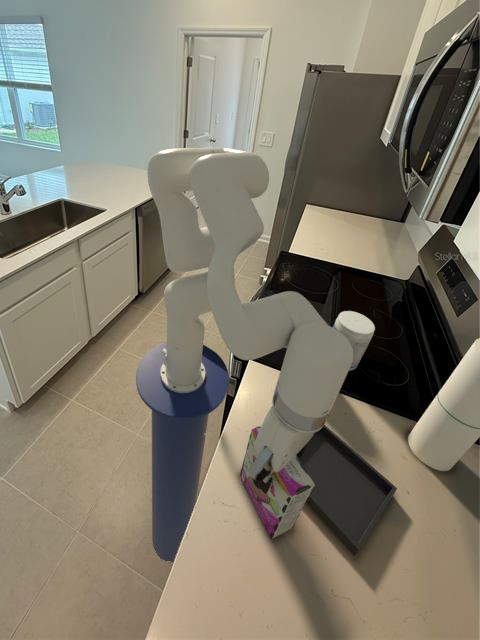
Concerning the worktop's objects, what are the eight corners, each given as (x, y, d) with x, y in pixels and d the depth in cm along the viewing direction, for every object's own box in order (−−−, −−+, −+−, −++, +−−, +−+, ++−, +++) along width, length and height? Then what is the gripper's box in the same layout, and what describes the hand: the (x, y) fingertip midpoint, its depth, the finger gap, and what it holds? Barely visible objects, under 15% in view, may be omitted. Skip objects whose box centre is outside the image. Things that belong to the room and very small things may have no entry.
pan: (274, 467, 64) (276, 460, 62) (315, 425, 72) (318, 419, 71) (354, 556, 52) (359, 550, 51) (392, 494, 61) (397, 488, 59)
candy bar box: (237, 475, 62) (250, 427, 54) (258, 466, 64) (273, 418, 56) (270, 543, 53) (290, 497, 45) (293, 529, 55) (317, 483, 47)
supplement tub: (316, 350, 93) (329, 312, 86) (340, 344, 96) (356, 307, 89) (339, 376, 85) (356, 337, 78) (365, 368, 88) (384, 330, 81)
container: (447, 441, 71) (524, 347, 56) (458, 478, 64) (549, 383, 49) (405, 425, 74) (468, 332, 59) (411, 459, 67) (484, 363, 52)
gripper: (312, 357, 51) (289, 420, 60) (239, 414, 41) (224, 480, 50) (356, 389, 46) (324, 453, 55) (284, 463, 36) (259, 527, 45)
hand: (277, 466), depth 52 cm, fingers open, 8 cm apart
